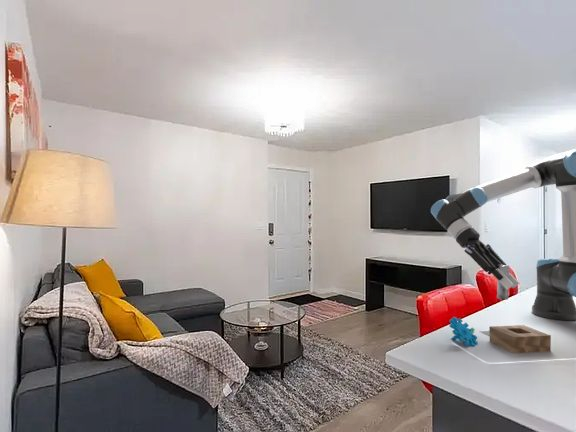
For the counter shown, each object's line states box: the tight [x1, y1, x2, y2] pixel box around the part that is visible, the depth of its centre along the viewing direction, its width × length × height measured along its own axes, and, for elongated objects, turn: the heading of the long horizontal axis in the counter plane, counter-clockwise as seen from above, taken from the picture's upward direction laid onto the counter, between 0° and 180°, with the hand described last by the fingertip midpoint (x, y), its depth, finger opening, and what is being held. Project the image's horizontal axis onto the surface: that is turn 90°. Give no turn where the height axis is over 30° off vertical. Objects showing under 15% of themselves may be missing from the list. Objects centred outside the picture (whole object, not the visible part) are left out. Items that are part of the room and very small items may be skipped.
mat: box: [479, 330, 490, 338], centre depth 117 cm, size 10×8×1 cm
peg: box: [496, 264, 510, 301], centre depth 117 cm, size 3×3×11 cm
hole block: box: [489, 324, 552, 354], centre depth 107 cm, size 12×10×5 cm
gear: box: [449, 316, 478, 347], centre depth 111 cm, size 11×6×10 cm
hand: (513, 286), depth 114 cm, fingers closed on peg, 3 cm apart
